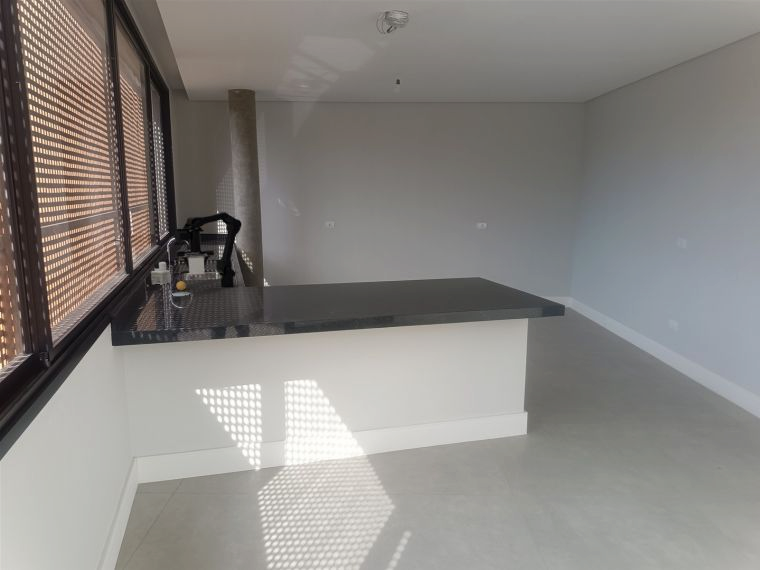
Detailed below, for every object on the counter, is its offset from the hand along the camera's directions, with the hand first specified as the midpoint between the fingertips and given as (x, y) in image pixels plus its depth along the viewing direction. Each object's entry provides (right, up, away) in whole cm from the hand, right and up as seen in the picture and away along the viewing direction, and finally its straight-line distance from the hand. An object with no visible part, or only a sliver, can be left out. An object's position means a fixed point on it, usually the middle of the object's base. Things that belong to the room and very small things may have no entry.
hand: (196, 268), depth 288 cm
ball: (-10, -9, +4) cm, 14 cm away
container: (-29, -8, +24) cm, 38 cm away
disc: (-6, -14, -7) cm, 17 cm away
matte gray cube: (0, -3, 0) cm, 3 cm away
